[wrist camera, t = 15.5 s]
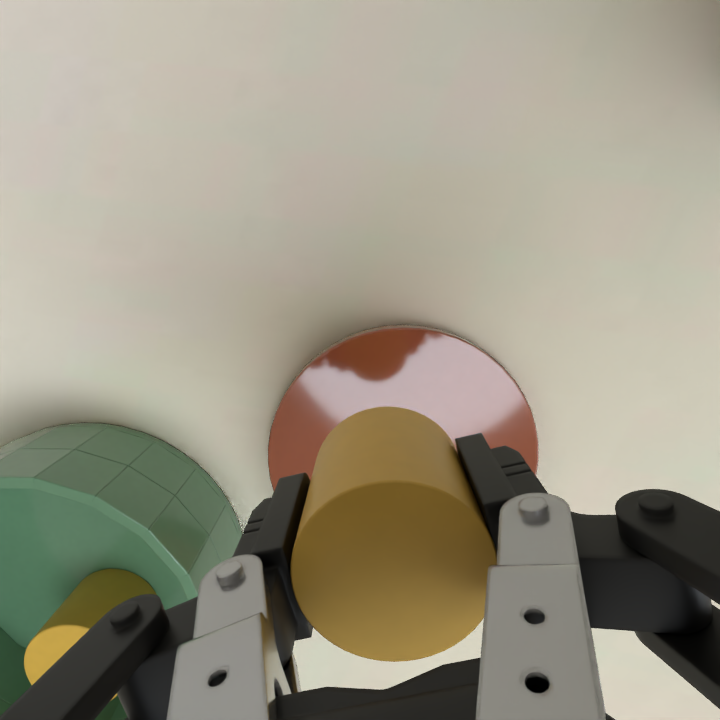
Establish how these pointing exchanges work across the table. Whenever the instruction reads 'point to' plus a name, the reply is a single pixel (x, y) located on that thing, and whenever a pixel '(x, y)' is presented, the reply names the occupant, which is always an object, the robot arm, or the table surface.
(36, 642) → the yellow short cylinder
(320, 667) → the table surface
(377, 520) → the yellow cylinder
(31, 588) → the green bowl
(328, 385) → the plate
